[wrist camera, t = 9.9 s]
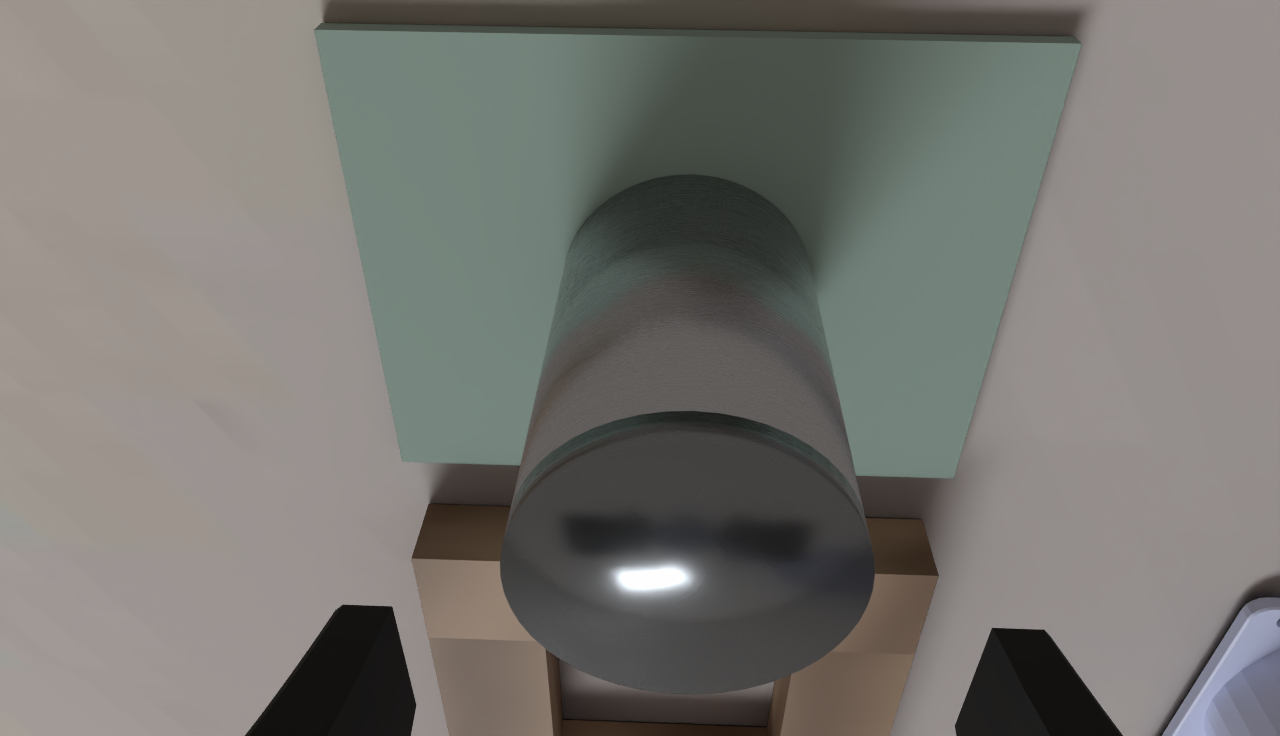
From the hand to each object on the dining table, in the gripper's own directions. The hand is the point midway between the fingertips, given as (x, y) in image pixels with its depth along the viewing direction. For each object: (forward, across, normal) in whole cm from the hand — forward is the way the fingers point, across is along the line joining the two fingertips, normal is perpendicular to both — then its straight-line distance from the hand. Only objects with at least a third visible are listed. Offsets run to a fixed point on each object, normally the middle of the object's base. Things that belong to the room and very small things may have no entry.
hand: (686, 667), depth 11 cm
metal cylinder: (+9, 0, 0) cm, 9 cm away
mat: (+9, 0, 0) cm, 9 cm away
